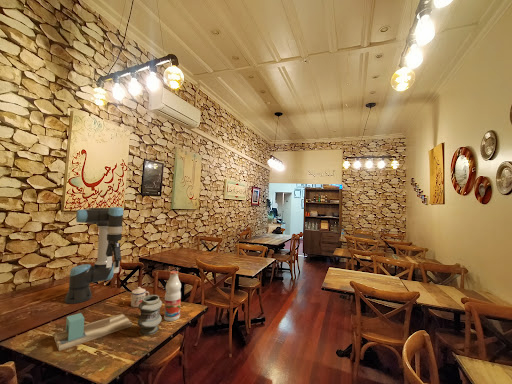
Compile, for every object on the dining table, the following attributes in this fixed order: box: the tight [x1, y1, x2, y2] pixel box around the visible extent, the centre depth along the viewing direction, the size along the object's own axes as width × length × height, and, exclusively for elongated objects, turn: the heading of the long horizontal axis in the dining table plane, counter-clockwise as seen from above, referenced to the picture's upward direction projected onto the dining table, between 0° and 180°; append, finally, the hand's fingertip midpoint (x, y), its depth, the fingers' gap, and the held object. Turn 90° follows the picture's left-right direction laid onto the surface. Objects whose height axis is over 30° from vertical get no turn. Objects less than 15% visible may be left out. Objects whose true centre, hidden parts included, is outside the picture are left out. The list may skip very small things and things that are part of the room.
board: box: [53, 313, 133, 352], centre depth 126 cm, size 15×32×5 cm, turn 138°
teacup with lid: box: [130, 286, 150, 308], centre depth 162 cm, size 12×9×12 cm
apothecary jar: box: [137, 294, 163, 337], centre depth 129 cm, size 12×12×18 cm
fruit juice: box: [163, 270, 182, 322], centre depth 145 cm, size 9×9×28 cm
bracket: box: [65, 312, 85, 341], centre depth 119 cm, size 8×6×9 cm
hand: (112, 270), depth 137 cm, fingers open, 13 cm apart
